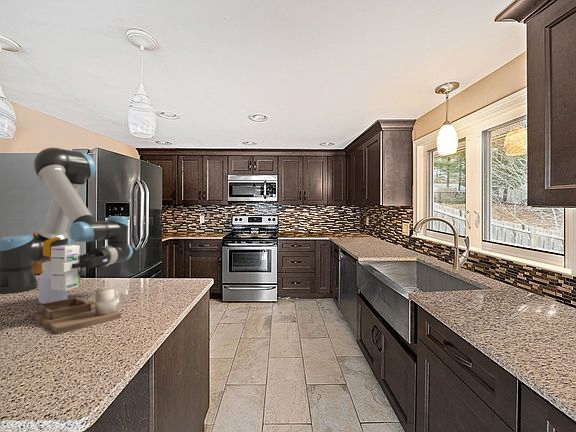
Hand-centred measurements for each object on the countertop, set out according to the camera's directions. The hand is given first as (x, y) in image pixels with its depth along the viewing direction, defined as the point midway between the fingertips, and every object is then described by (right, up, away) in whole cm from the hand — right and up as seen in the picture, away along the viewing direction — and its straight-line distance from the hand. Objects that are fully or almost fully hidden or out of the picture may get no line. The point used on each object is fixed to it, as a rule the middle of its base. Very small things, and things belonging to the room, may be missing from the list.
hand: (53, 267), depth 102 cm
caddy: (+3, -17, +6) cm, 19 cm away
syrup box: (0, -8, +5) cm, 10 cm away
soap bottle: (-16, -17, +22) cm, 32 cm away
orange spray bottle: (-54, -14, +69) cm, 89 cm away
